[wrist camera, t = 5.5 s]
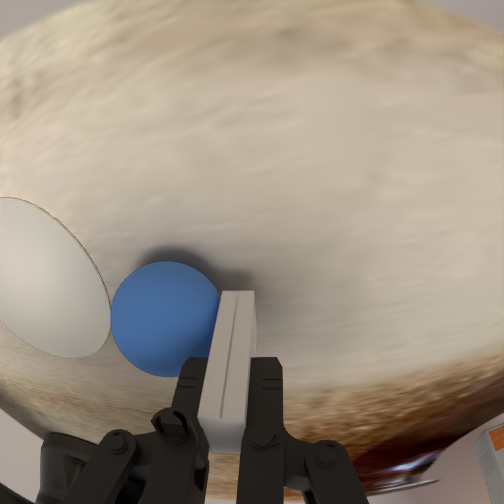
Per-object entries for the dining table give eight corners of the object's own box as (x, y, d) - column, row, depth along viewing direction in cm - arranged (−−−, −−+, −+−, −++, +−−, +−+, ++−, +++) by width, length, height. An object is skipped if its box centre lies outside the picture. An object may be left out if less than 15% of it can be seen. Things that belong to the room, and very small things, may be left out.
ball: (224, 345, 18) (134, 374, 16) (196, 254, 18) (103, 280, 16) (256, 366, 13) (132, 408, 11) (217, 239, 13) (86, 276, 11)
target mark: (54, 371, 22) (53, 373, 22) (-46, 260, 17) (-48, 261, 17) (151, 321, 18) (151, 324, 18) (12, 153, 13) (10, 154, 13)
